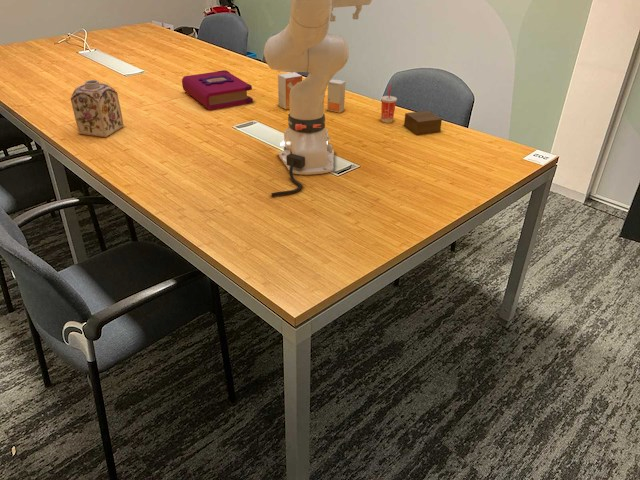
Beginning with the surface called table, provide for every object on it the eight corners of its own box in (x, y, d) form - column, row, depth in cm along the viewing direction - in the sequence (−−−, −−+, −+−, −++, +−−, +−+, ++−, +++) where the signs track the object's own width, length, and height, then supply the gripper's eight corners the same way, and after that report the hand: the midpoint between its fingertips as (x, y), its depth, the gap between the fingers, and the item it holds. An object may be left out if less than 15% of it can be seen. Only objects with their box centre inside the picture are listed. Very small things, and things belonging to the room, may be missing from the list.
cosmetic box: (326, 110, 216) (327, 81, 209) (331, 107, 219) (332, 78, 212) (340, 113, 213) (341, 83, 207) (344, 110, 216) (345, 81, 210)
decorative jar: (125, 126, 197) (115, 78, 187) (106, 138, 188) (95, 87, 178) (97, 123, 200) (86, 75, 190) (77, 134, 190) (65, 84, 180)
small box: (285, 110, 215) (285, 78, 208) (278, 105, 220) (277, 74, 212) (302, 106, 219) (302, 75, 212) (294, 102, 223) (294, 71, 216)
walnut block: (440, 131, 198) (442, 119, 195) (416, 135, 195) (418, 122, 192) (426, 122, 206) (428, 110, 203) (403, 125, 203) (405, 113, 200)
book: (207, 111, 213) (205, 92, 209) (183, 92, 233) (180, 75, 228) (254, 102, 222) (253, 84, 218) (227, 85, 242) (225, 68, 238)
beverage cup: (394, 118, 209) (398, 83, 202) (395, 123, 204) (398, 87, 196) (379, 117, 210) (382, 82, 202) (379, 123, 205) (382, 87, 197)
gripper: (323, -21, 171) (322, 24, 178) (375, -24, 179) (372, 19, 186) (314, -24, 175) (313, 20, 183) (365, -26, 183) (363, 16, 191)
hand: (343, 20), depth 185 cm, fingers open, 8 cm apart
